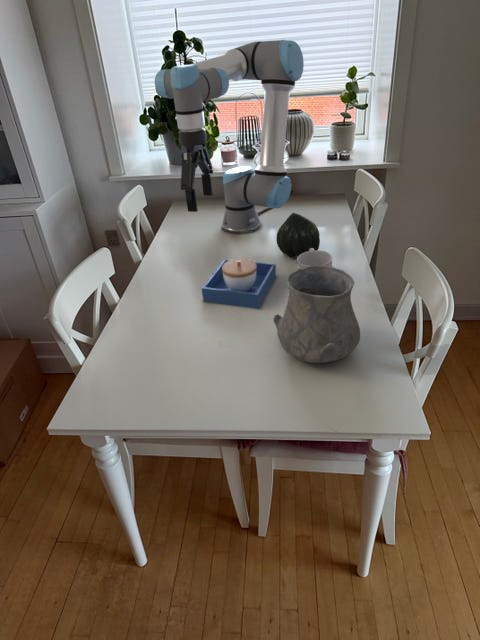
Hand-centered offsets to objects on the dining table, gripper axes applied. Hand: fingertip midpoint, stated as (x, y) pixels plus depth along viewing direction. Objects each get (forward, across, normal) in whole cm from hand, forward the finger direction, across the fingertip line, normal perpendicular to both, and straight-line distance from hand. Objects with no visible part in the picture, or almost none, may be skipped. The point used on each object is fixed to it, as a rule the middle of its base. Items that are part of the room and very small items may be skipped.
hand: (200, 203), depth 137 cm
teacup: (+25, -4, +35) cm, 43 cm away
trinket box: (+25, +7, +13) cm, 29 cm away
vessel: (+25, +32, +40) cm, 57 cm away
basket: (+25, +7, +13) cm, 29 cm away
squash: (+25, -20, +26) cm, 42 cm away
